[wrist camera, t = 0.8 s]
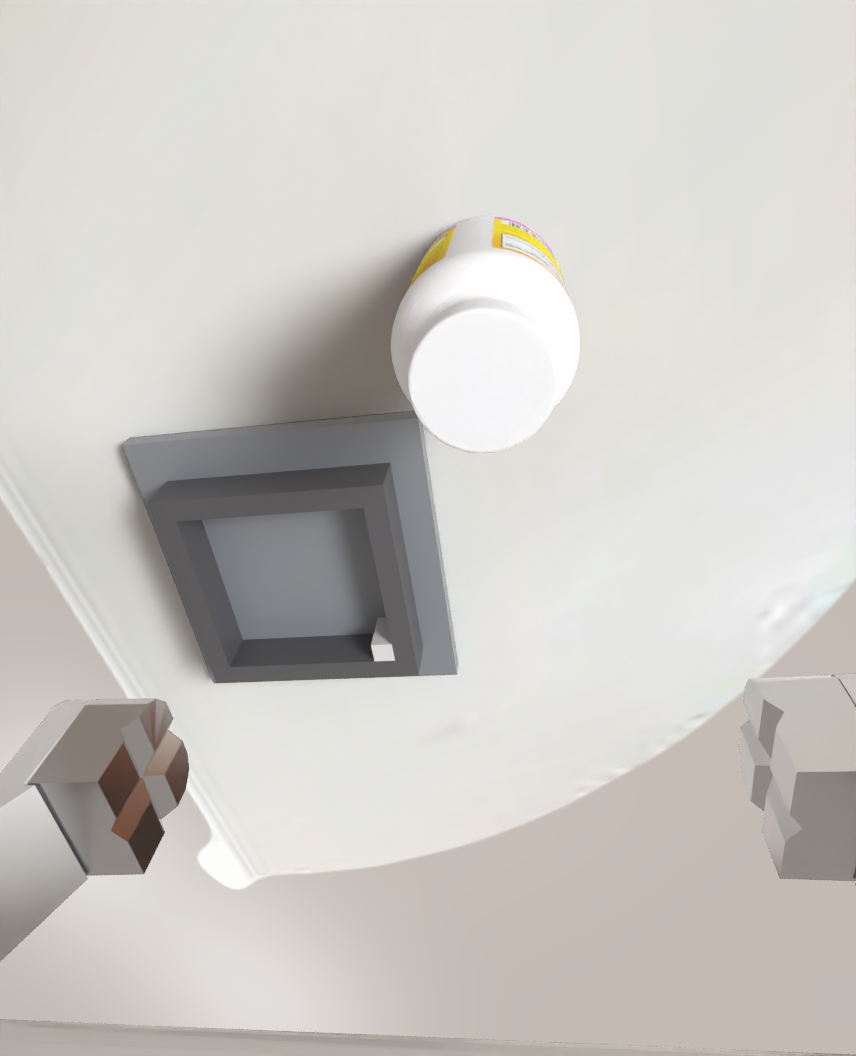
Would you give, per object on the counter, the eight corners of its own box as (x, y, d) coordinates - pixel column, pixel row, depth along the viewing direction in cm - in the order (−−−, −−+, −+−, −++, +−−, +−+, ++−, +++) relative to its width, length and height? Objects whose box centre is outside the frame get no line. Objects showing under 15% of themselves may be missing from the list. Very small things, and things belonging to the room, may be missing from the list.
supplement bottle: (427, 367, 35) (390, 489, 24) (406, 223, 31) (353, 288, 20) (564, 353, 34) (593, 473, 23) (559, 202, 30) (588, 258, 19)
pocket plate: (130, 437, 38) (98, 465, 35) (420, 410, 36) (412, 438, 33) (219, 672, 47) (199, 711, 44) (457, 663, 44) (454, 703, 41)
